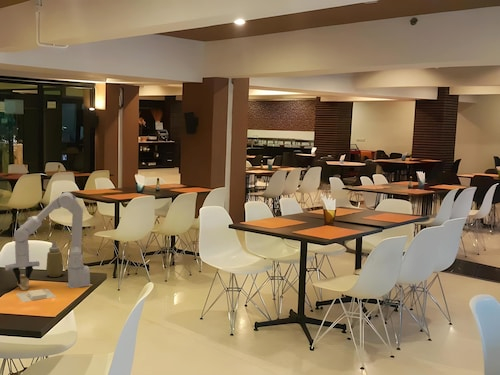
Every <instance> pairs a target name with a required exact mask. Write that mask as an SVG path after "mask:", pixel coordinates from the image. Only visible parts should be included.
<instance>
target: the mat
mask: <svg viewBox="0 0 500 375" xmlns="http://www.w3.org/2000/svg"><path fill="white" fill-rule="evenodd" d="M42 290H43V291H44V292H45V293H46V294H47V298H44V299H43V300H45V299H53V298H57V296H56V295H55V294H54V293H53V292H52V291H51V290H50V289H48V288H45V289H42ZM15 295H16V297H18V299H19V300H20V301H21V303H28V302H32V301H33V302H34V301H35V300H32V299H31V298H30V297H29V296H28V295H27V291H24V292H18V293H15ZM39 300H40V301H41V300H42V299H37V300H36V301H39Z"/></svg>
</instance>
